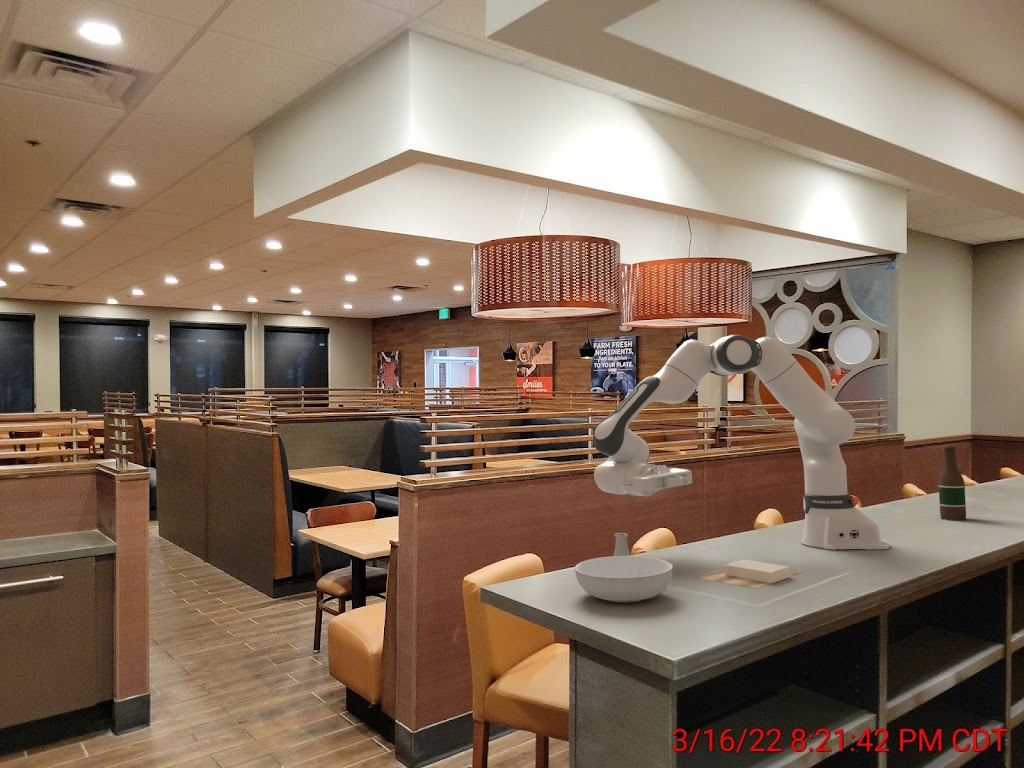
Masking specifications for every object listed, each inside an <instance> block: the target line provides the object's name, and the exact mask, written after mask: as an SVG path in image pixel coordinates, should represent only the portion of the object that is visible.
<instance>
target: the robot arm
mask: <svg viewBox="0 0 1024 768" xmlns="http://www.w3.org/2000/svg"><path fill="white" fill-rule="evenodd" d="M748 370H749V371H751V372H753V373H754V374H755V375H756V376H757V377H758V379H759V380H760V381H761V382H762V384H763V385H764V386H765V387H766V389H767V390H768V391H769V392H770V394H771V395H772V396H773V397H774V399H775V400H776V401H777V402H778V403H779V405H780V406H781V407H783V408H784V409H786V411H788V412H789V413H790V414H791V415H792V416H793V417H794V421H793V428H794V431H795V433H796V435H797V439H798V445H799V449H800V453H801V458H802V464H803V473H804V474H803V475H804V492H803V498H802V499H803V512H804V514H805V516H804V526H803V527H804V528H803V533H802V537H801V540H800V543H801V544H802V545H806V546H809V547H815V548H820V549H826V550H829V549H831V550H830V551H837V550H836V549H866V550H887V549H889V548H890V546H891V545H890V542H889V541H888V540H887V539H885V538H882V537H881V533H880V529H879V526H878V524H877V523H876V522H875V520H873V519H872V518H871V517H869V516H868V515H866V513H864V512H862V511H861V510H860V509H858V508H857V507H856V506H857V505H859V503H860V499H859V497H857V496H853V495H851V494H850V493H848V478H847V477H848V476H847V475H848V474H847V465H846V463H845V461H844V458H843V456H842V453H841V452H842V451H841V449H840V445H841V444H845V442H848V441H849V440H850V439H851V438H852V437H853V435H854V434H855V431H856V422H855V420H854V419H855V418H853V416H852V415H851V413H849V412H848V411H847V410H845V408H842V406H841V405H840V404H839V403H837V402H836V400H834V398H832V397H831V396H830V395H829V394H828V392H826V391H825V390H824V389H823V388H821V387H820V386H819V385H818V384H817V383H816V382H815V381H814V379H812V378H811V376H810V374H808V373H807V372H806V370H805V369H804V368H803V367H802V365H801V364H800V363H799V362H798V360H797V359H796V358H795V357H794V356H793V355H792V353H790V351H789V350H788V349H787V348H786V347H785V346H783V345H782V343H780V342H779V341H778V340H776V339H775V338H773V337H771V336H762V337H760V338H757V339H756V340H754V339H752V338H750V337H748V336H744V335H741V334H729V335H727V336H723V337H720V338H719V339H717V340H716V341H714V342H712V343H710V344H705V342H702V341H700V340H697V339H688V340H685V341H684V342H683V343H682V344H681V345H680V346H679V347H678V348H677V349H676V350H675V351H674V352H673V353H672V355H671V356H670V357H669V358H668V360H667V361H666V362H665V363H664V365H663V367H662V368H661V369H660V370H659V371H658V372H657V373H656V374H654V375H650V376H647V377H645V378H644V379H643V380H641V381H640V382H639V383H638V384H637V385H636V386H635V387H634V388H633V389H632V390H631V391H630V393H628V394H627V396H626V397H625V398H624V399H623V400H622V401H621V402H620V403H619V404H618V405H617V407H616V408H615V409H614V410H613V411H612V412H611V413H610V414H609V415H608V416H606V417H605V418H604V419H603V420H601V422H599V423H598V424H597V425H596V427H595V428H594V430H593V434H592V441H593V442H592V443H593V446H594V448H595V450H596V451H597V452H600V453H601V454H603V455H605V456H607V457H608V458H607V459H606V460H605V461H603V463H602V462H601V464H599V465H597V466H596V467H595V469H594V472H593V478H594V482H595V484H596V486H597V487H598V489H599V490H601V491H603V492H605V493H608V494H614V495H626V494H629V495H630V496H639V497H642V496H643V497H651V496H652V495H654V494H655V493H657V492H659V491H661V490H665V489H670V488H675V487H682V486H686V485H687V486H688V485H691V484H693V475H692V474H693V473H692V471H691V470H690V469H686V468H677V467H667V465H666V464H665V465H664V464H659V465H657V464H653V463H648V461H649V458H650V452H651V451H650V445H649V444H648V442H647V441H645V440H644V439H643V438H642V437H640V436H639V435H638V434H636V433H635V432H633V430H631V429H630V428H629V426H630V425H631V423H632V422H633V421H634V419H635V418H637V416H638V415H639V414H640V413H641V412H642V411H643V410H644V409H645V408H646V406H648V405H649V404H652V403H655V402H657V403H665V404H669V405H675V404H676V405H677V404H681V403H684V402H686V401H687V400H688V399H689V398H690V397H691V396H692V395H693V394H694V393H695V390H696V389H697V388H698V386H699V385H700V384H701V382H702V380H703V378H705V376H706V375H708V374H709V373H710V374H714V375H717V376H720V377H725V376H735V375H738V374H739V373H743V372H745V371H748Z"/></svg>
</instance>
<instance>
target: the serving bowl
mask: <svg viewBox="0 0 1024 768" xmlns="http://www.w3.org/2000/svg"><path fill="white" fill-rule="evenodd" d="M673 569H674V568H673V564H672V563H670V561H666V560H664V559H661V558H657V557H649V556H639V555H631V556H611V555H610V556H603V557H596V558H590V559H587V560H584V561H580V562H579V563H577V564H576V565H575V566H574V572H575V577H576V580H577V583H578V584H579V586H580V587H581V588H582V589H583V590H584V591H585V592H586V593H587V594H588V595H591V596H592V597H595V598H597V599H601V600H605V601H608V600H609V602H612V601H613V602H612V603H619V602H622V603H621V604H623V603H624V604H629V603H630V602H631V603H636V602H641V601H644V600H648V599H651V598H654V597H657V596H658V595H660V594H661V593H662V592H664V591H665V590H666V589H667V588H668V586H669V585H670V583H671V581H672V576H673Z"/></svg>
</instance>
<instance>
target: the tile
mask: <svg viewBox="0 0 1024 768" xmlns="http://www.w3.org/2000/svg"><path fill="white" fill-rule="evenodd" d="M723 568H725V575H727V576H733V577H738V578H744V579H749V580H755V581H760V582H766V583H770V584H774V583H777V582H780V581H783V580H787V579H789V578H791V577H790V571H791V570H790V566H788V565H780V564H775V563H770V562H761V561H756V560H749V559H740V560H737V561H732V562H729V563H726V564H724V567H723Z"/></svg>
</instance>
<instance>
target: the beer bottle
mask: <svg viewBox="0 0 1024 768" xmlns="http://www.w3.org/2000/svg"><path fill="white" fill-rule="evenodd" d="M942 449H943V450H944V464H943V470H942V472H941V473H940V475H939V478H938V496H939V497H938V500H939V513H940V518H941V520H944V519H946V520H945V521H957V522H958V521H966V520H967V519H966V518H967V507H966V506H967V505H966V503H967V502H966V486H965V479H964V477H963V475H962V474H961V472H960V471H959V467H958V464H957V455H956V450H957V448H956V445H953V444H952V445H950V444H949V445H947V444H946V445H944V446H943V448H942Z"/></svg>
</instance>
